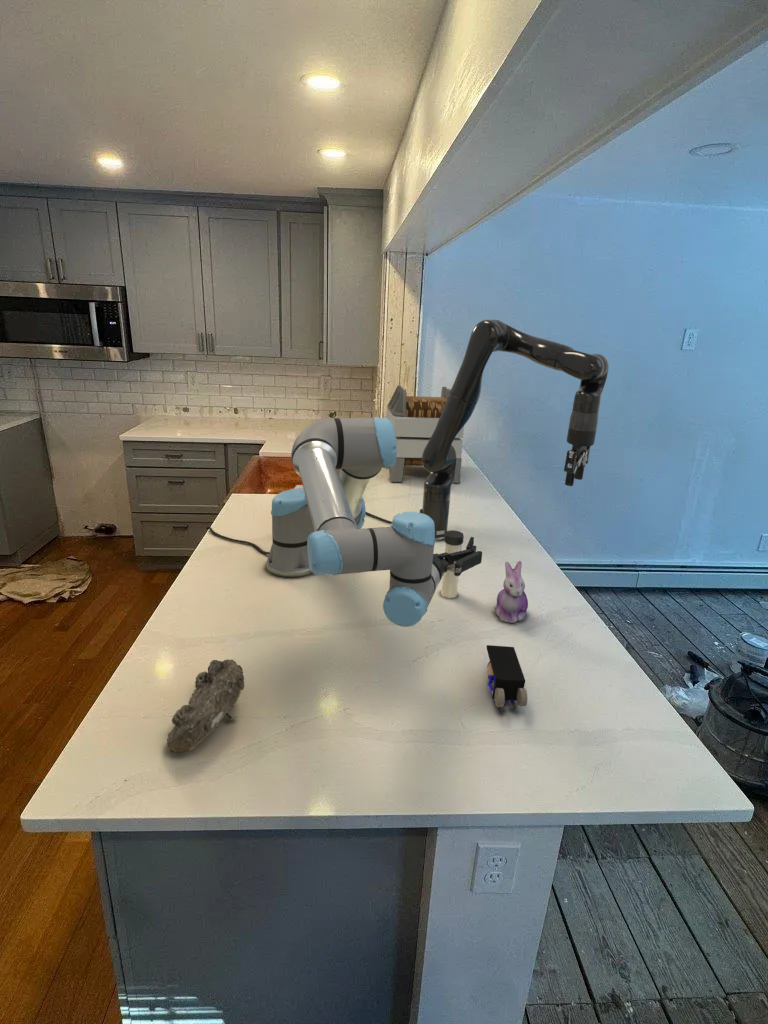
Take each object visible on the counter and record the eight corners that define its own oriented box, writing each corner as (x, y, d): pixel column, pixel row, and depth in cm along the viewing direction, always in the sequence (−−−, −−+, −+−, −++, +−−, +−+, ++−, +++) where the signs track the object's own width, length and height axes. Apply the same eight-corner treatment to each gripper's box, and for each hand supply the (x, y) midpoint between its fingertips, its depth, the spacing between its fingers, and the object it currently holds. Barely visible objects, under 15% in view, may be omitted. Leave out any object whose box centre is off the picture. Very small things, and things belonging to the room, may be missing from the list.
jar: (459, 594, 159) (465, 535, 153) (450, 599, 156) (456, 539, 150) (447, 589, 162) (452, 531, 156) (438, 594, 159) (443, 535, 153)
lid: (466, 542, 154) (467, 534, 153) (455, 547, 150) (456, 538, 149) (451, 536, 157) (452, 528, 156) (440, 541, 153) (441, 533, 152)
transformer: (382, 463, 289) (386, 382, 275) (445, 464, 293) (451, 384, 279) (390, 482, 257) (394, 392, 243) (460, 483, 261) (468, 394, 247)
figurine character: (526, 722, 112) (510, 670, 126) (532, 694, 109) (515, 643, 122) (492, 722, 112) (480, 669, 125) (498, 693, 109) (484, 642, 122)
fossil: (192, 660, 117) (244, 628, 112) (224, 691, 120) (276, 661, 115) (142, 746, 98) (202, 712, 93) (182, 779, 101) (242, 748, 96)
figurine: (509, 627, 143) (516, 574, 138) (485, 609, 151) (491, 558, 146) (538, 620, 147) (546, 567, 142) (512, 602, 156) (519, 552, 151)
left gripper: (361, 582, 117) (390, 545, 136) (482, 603, 110) (495, 561, 130) (362, 548, 114) (392, 515, 134) (486, 568, 108) (498, 530, 127)
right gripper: (577, 422, 167) (568, 474, 173) (561, 428, 156) (552, 484, 162) (603, 425, 163) (593, 479, 169) (588, 433, 152) (578, 490, 158)
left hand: (442, 538), depth 132 cm, fingers open, 13 cm apart
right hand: (573, 482), depth 165 cm, fingers open, 8 cm apart
